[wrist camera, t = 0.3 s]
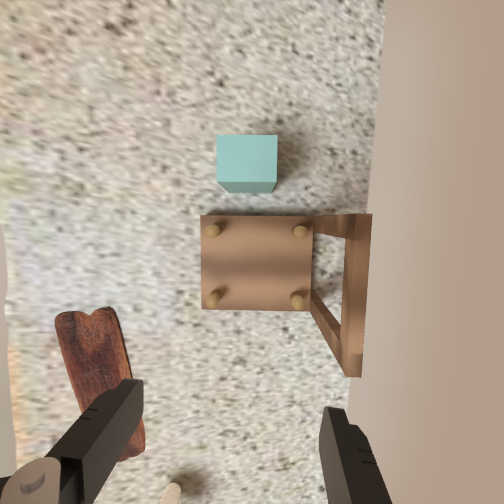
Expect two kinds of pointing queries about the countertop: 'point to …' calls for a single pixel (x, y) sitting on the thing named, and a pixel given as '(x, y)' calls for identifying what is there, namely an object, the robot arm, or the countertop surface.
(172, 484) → the lightbulb
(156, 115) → the countertop surface
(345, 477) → the robot arm
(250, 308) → the peg shelf
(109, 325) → the wooden tablet
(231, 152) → the teal block
